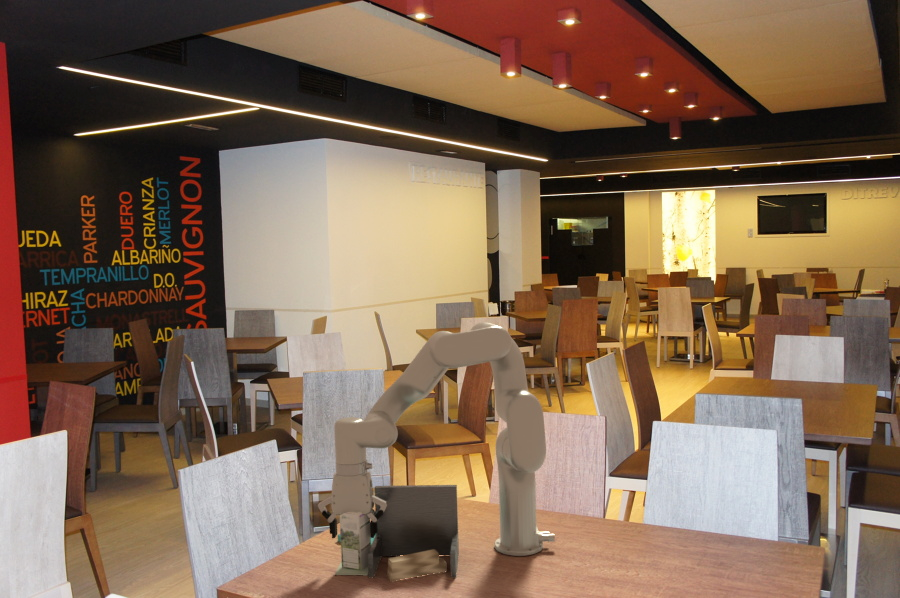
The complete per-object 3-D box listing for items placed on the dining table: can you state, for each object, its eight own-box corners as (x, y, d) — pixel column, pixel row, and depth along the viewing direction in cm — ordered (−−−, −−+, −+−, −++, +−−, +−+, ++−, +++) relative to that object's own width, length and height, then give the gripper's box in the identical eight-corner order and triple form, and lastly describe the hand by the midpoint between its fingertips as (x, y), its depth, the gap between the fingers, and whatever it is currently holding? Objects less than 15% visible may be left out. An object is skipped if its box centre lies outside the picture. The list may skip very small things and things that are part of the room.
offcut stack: (442, 567, 185) (441, 547, 185) (447, 573, 182) (446, 552, 181) (387, 578, 180) (386, 557, 180) (391, 583, 177) (390, 562, 176)
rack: (458, 553, 193) (456, 484, 192) (456, 577, 178) (453, 503, 177) (378, 554, 194) (375, 485, 193) (368, 578, 180) (365, 504, 179)
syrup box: (372, 562, 188) (370, 505, 187) (360, 571, 182) (358, 513, 182) (353, 559, 190) (351, 503, 189) (340, 568, 185) (338, 510, 184)
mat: (374, 558, 191) (374, 557, 191) (367, 575, 181) (367, 573, 181) (343, 559, 192) (343, 557, 192) (334, 575, 182) (334, 574, 182)
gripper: (388, 463, 188) (390, 530, 189) (320, 464, 189) (322, 531, 190) (383, 472, 181) (386, 541, 182) (313, 473, 182) (315, 542, 183)
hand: (353, 536), depth 186 cm, fingers open, 9 cm apart
